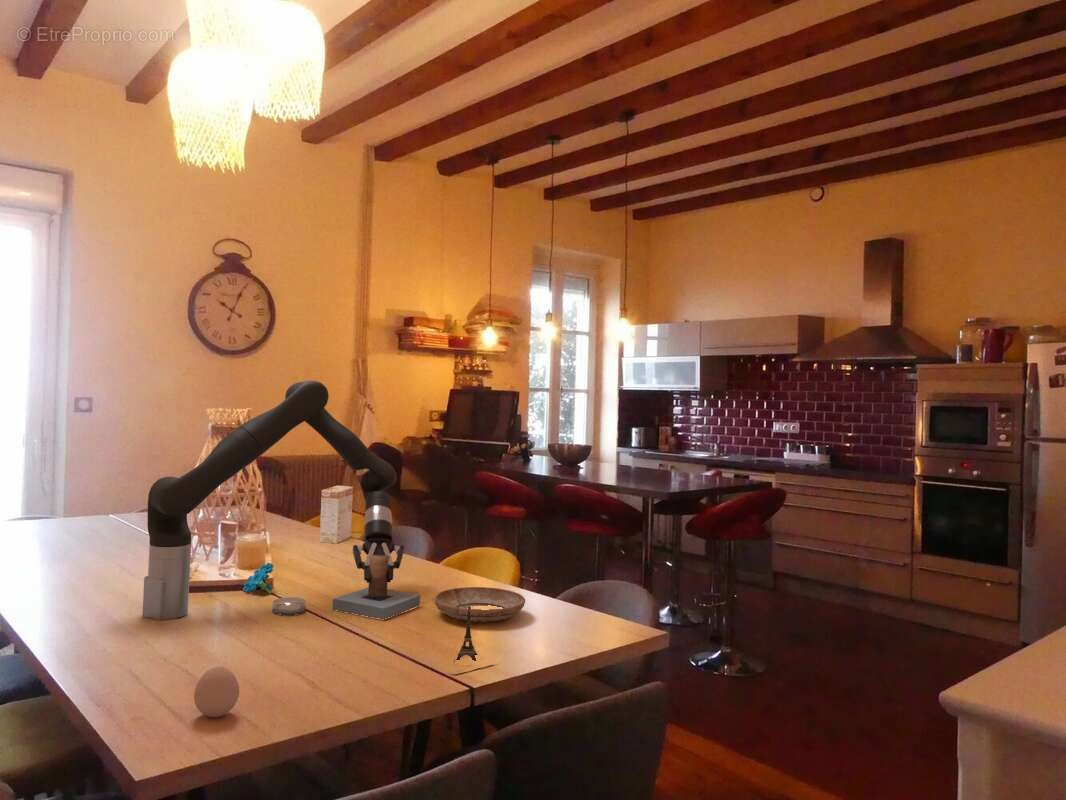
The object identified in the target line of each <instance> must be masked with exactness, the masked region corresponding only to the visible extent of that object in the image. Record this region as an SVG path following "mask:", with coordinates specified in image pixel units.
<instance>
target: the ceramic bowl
mask: <svg viewBox="0 0 1066 800" xmlns="http://www.w3.org/2000/svg"><path fill="white" fill-rule="evenodd" d="M433 601H434V604H435V606H436V608H437V609H438V610H439V611H441V612H442V613H443V614H445V615H447V616H449V617H451V618H453V619H457V620H461V621H464V620H467V618H468V609H467V608H468V607H469V602H470V607H471V606H472V607H473V606H488V605H491V606H497V607H502V608H503V609H489V610H481V609H470V622H472V621H481V622H480V623H484V622H483V621H494V622H498V621H497V620H500V621H504V620H507V619H509V618H511V617H513V616H515V615H517V614H518V613H519V612H521V611H522V609H523V608H524V607H525V604H526V599H525V596H523V595H522V594H520V593H519V592H515V591H512V590H508V589H502V588H496V587H485V586H484V587H483V586H469V587H468V586H466V587H456V588H455V587H454V588H450V589H446V590H442V591H440V592H438V593H437V594H436V595H435V596H434V600H433ZM503 619H504V620H503Z"/></svg>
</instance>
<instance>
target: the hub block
mask: <svg viewBox="0 0 1066 800" xmlns="http://www.w3.org/2000/svg"><path fill="white" fill-rule="evenodd" d="M368 590H369V586H368V587H365V588H362V589H359V590H356V591H353V592H349V593H346V594H344V595H340V596H337V597H334V598H332V609H331V610H332V611H334V610H338V611H337V612H339V611H342V612H341V613H343V612H348V613H354V614H358V615H364V616H368V617H374V618H380V619H385V618H388V617H391V616H393V615H396V614H399V613H401V612H404V611H406V610H409V609H411V608H414V607H416V606H419V605H420V606H421V595H419V594H414V593H409V592H403V591H398V590H395V589H388V588H387V595H386V596H384V597H371V596H369V595H368ZM348 613H347V614H348ZM358 615H357V616H358ZM399 615H400V614H399ZM368 617H367V618H368Z"/></svg>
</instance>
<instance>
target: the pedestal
mask: <svg viewBox="0 0 1066 800" xmlns="http://www.w3.org/2000/svg"><path fill="white" fill-rule="evenodd" d="M306 603H307V601H306V598H305V599H304V598H302V597H296V596H295V597H292V596H288V597H287V596H286V597H281V598H276V599H274V600H273V601H272V614H274V613H275V615H276V614H281V615H280V616H283V615H291V616H296V615H295V614H299V615H302V614H304V613H305V612H306V609H307V604H306ZM303 612H304V613H303ZM301 613H302V614H301Z"/></svg>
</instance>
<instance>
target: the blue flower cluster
mask: <svg viewBox="0 0 1066 800" xmlns="http://www.w3.org/2000/svg"><path fill="white" fill-rule="evenodd" d="M274 566H275V565H274V564H273V563H270V562H266V564H262V565H260V568H259V569H258V568H257V569H255V570H254V571H253V573H254V574H253V575H250V576H248V577H247V580H248V581H245V582H244V584H243V586H244V587H243V588H242V590H243V592H244V593H247V594H250V592H254V591H256V589H257V587H258V588H260V589H261V590H262V591H265V592H267V594H269V595H271V594H272V593H273V592H272V591H271V590H273V587H272V586H271V585H270V584H269V583H268V582H267V579H269V577H270V574H272V573H273V571H274V569H273V568H274Z"/></svg>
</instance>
